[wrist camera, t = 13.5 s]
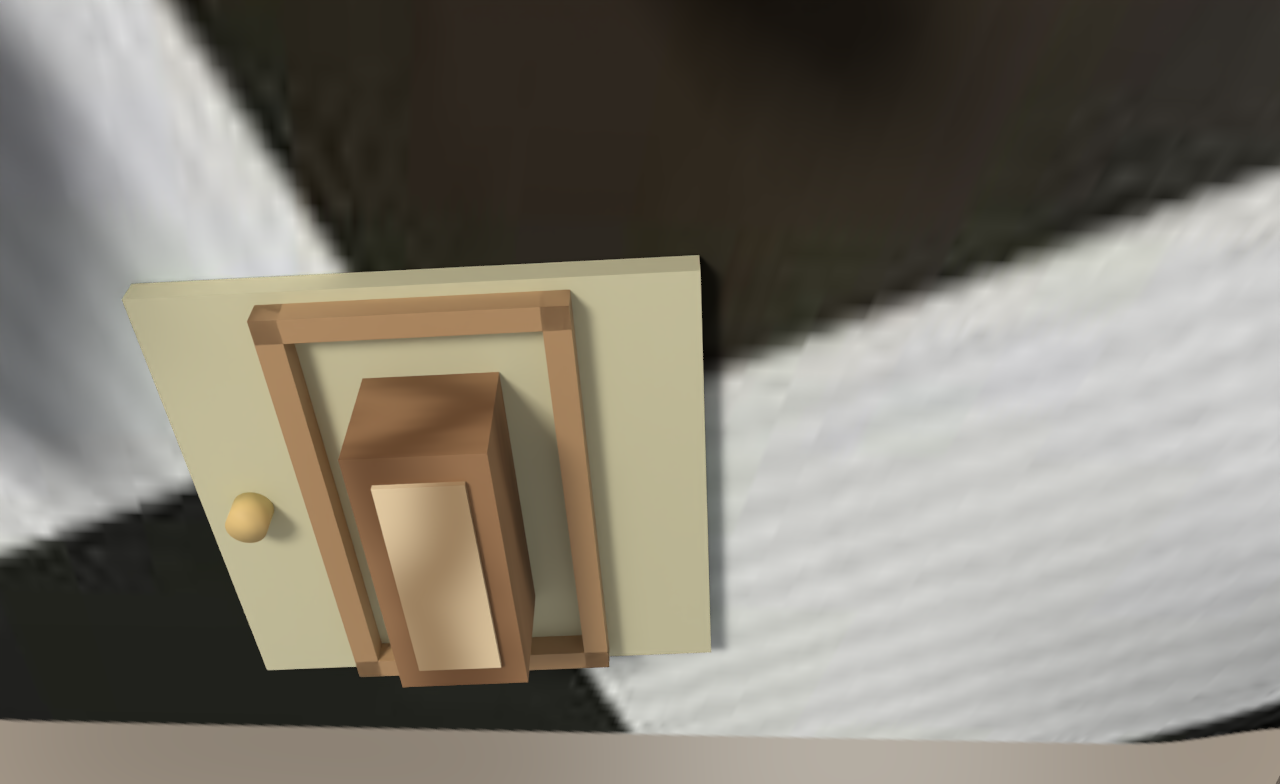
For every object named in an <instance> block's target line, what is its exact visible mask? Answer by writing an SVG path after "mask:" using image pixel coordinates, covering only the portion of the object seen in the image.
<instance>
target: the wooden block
mask: <svg viewBox="0 0 1280 784" xmlns="http://www.w3.org/2000/svg"><path fill="white" fill-rule="evenodd" d="M338 462H339V465H340V469H341V472H342V476H343V479H344V483H345V486H346V490H347V493H348V497H349V500H350V504H351V507H352V511H353V514H354V518H355V521H356V525H357V528H358V532H359V535H360V539H361V543H362V546H363V550H364V553H365V557H366V560H367V564H368V567H369V571H370V574H371V578H372V581H373V585H374V588H375V592H376V595H377V599H378V602H379V606H380V609H381V613H382V616H383V620H384V623H385V627H386V630H387V634H388V637H389V641H390V644H391V648H392V651H393V655H394V658H395V662H396V665H397V669H398V672H399V676H400V679H401V683H402V686H403V687H419V686H444V685H469V684H494V683H519V682H528V678H529V666H530V655H531V643H532V631H533V620H534V608H535V590H534V584H533V578H532V572H531V566H530V559H529V553H528V547H527V541H526V535H525V529H524V522H523V516H522V510H521V504H520V498H519V492H518V486H517V479H516V473H515V467H514V461H513V455H512V449H511V442H510V436H509V430H508V424H507V418H506V412H505V405H504V399H503V393H502V387H501V381H500V375H499V372H487V373H466V374H445V375H424V376H403V377H382V378H362V382H361V385H360V388H359V392H358V395H357V398H356V402H355V405H354V408H353V412H352V415H351V419H350V422H349V425H348V429H347V432H346V435H345V439H344V442H343V445H342V449H341V452H340V455H339V459H338Z"/></svg>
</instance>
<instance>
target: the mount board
mask: <svg viewBox="0 0 1280 784" xmlns="http://www.w3.org/2000/svg"><path fill="white" fill-rule="evenodd" d="M122 301H123V304H124V306H125V309H126V311H127V314H128V317H129V319H130V322H131V324H132V327H133V329H134V332H135V334H136V337H137V339H138V342H139V345H140V347H141V350H142V352H143V355H144V357H145V360H146V362H147V365H148V367H149V370H150V373H151V375H152V378H153V380H154V383H155V385H156V388H157V390H158V393H159V396H160V398H161V401H162V403H163V406H164V408H165V411H166V413H167V416H168V418H169V421H170V424H171V426H172V429H173V431H174V434H175V436H176V439H177V441H178V444H179V447H180V449H181V452H182V454H183V457H184V459H185V462H186V464H187V467H188V469H189V472H190V475H191V477H192V480H193V482H194V485H195V487H196V490H197V492H198V495H199V497H200V500H201V503H202V505H203V508H204V510H205V513H206V515H207V518H208V520H209V523H210V526H211V528H212V531H213V533H214V536H215V538H216V541H217V543H218V546H219V548H220V551H221V554H222V556H223V559H224V561H225V564H226V566H227V569H228V571H229V574H230V576H231V579H232V582H233V584H234V587H235V589H236V592H237V594H238V597H239V599H240V602H241V605H242V607H243V610H244V612H245V615H246V617H247V620H248V622H249V625H250V627H251V630H252V633H253V635H254V638H255V640H256V643H257V645H258V648H259V650H260V653H261V655H262V658H263V661H264V663H265V666H266V668H267V670H282V669H306V668H331V667H356V666H357V669H358V673H359V676H360V677H371V676H396V675H399V672H398V669H397V665H396V662H395V658H394V655H393V651H392V648H391V644H390V641H389V637H388V634H387V630H386V627H385V623H384V620H383V616H382V613H381V609H380V606H379V602H378V599H377V595H376V592H375V588H374V585H373V581H372V578H371V574H370V571H369V567H368V564H367V560H366V557H365V553H364V550H363V546H362V543H361V539H360V535H359V532H358V528H357V525H356V521H355V518H354V514H353V511H352V507H351V504H350V500H349V497H348V493H347V490H346V486H345V483H344V479H343V476H342V472H341V469H340V465H339V462H338V459H339V455H340V452H341V449H342V445H343V442H344V439H345V435H346V432H347V429H348V425H349V422H350V419H351V415H352V412H353V408H354V405H355V402H356V398H357V395H358V392H359V388H360V385H361V382H362V378H382V377H403V376H424V375H445V374H466V373H487V372H499V375H500V381H501V387H502V393H503V399H504V405H505V412H506V418H507V424H508V430H509V436H510V442H511V449H512V455H513V461H514V467H515V473H516V479H517V486H518V492H519V498H520V504H521V510H522V516H523V522H524V529H525V535H526V541H527V547H528V553H529V559H530V566H531V572H532V578H533V584H534V590H535V608H534V620H533V631H532V643H531V655H530V666H529V670H545V669H570V668H595V667H609V656H628V655H652V654H677V653H702V652H711V634H710V597H709V561H708V525H707V488H706V452H705V416H704V379H703V343H702V307H701V270H700V259H699V255H693V256H674V257H654V258H634V259H614V260H594V261H575V262H555V263H535V264H515V265H495V266H475V267H456V268H436V269H416V270H396V271H376V272H357V273H337V274H317V275H297V276H277V277H258V278H238V279H218V280H198V281H178V282H159V283H139V284H131V286H130V287H129V289H128V290H127V292H126V294H125V295H124V297H123V299H122Z"/></svg>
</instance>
